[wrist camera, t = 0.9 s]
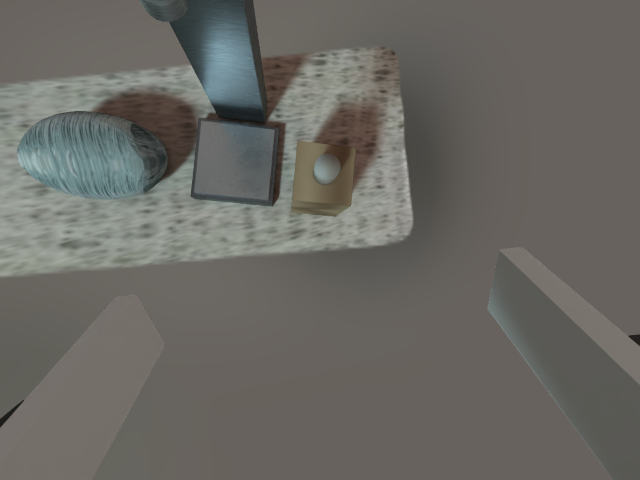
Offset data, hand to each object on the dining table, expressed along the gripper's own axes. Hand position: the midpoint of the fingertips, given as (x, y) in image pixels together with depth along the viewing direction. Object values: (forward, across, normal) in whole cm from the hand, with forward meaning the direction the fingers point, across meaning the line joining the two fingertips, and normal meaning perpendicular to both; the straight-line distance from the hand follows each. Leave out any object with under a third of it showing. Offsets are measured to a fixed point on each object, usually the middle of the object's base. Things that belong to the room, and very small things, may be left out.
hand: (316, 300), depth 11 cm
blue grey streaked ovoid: (+29, -25, 0) cm, 38 cm away
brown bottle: (+29, -1, -7) cm, 30 cm away
